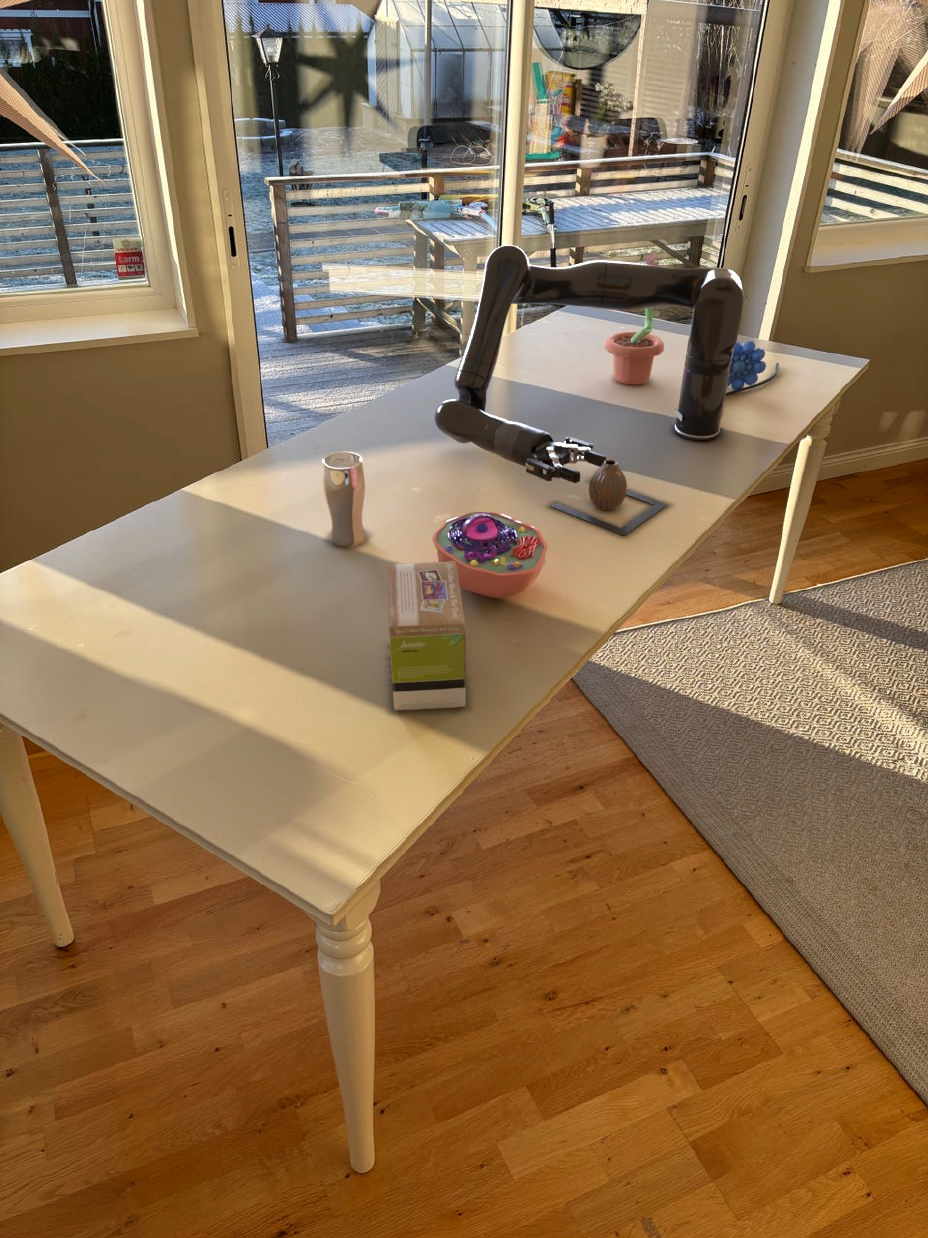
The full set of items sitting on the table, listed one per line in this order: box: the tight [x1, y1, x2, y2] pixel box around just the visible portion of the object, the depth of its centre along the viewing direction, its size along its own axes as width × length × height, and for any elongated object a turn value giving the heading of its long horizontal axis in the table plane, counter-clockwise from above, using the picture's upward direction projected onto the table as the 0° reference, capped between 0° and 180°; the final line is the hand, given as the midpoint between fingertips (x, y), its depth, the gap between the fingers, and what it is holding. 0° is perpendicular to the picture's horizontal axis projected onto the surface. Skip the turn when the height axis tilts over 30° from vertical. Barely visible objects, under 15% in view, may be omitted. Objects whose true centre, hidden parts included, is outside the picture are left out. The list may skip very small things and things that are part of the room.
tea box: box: [387, 561, 466, 712], centre depth 127 cm, size 15×10×15 cm, turn 5°
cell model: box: [432, 511, 548, 600], centre depth 147 cm, size 17×20×11 cm
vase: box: [588, 459, 628, 511], centre depth 170 cm, size 7×7×9 cm
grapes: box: [727, 340, 767, 391], centre depth 216 cm, size 12×7×12 cm, turn 65°
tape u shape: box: [550, 489, 669, 537], centre depth 172 cm, size 15×16×1 cm
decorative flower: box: [604, 249, 665, 385], centre depth 215 cm, size 15×14×30 cm
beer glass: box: [322, 451, 366, 548], centre depth 158 cm, size 7×7×15 cm
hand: (592, 469), depth 171 cm, fingers open, 8 cm apart
